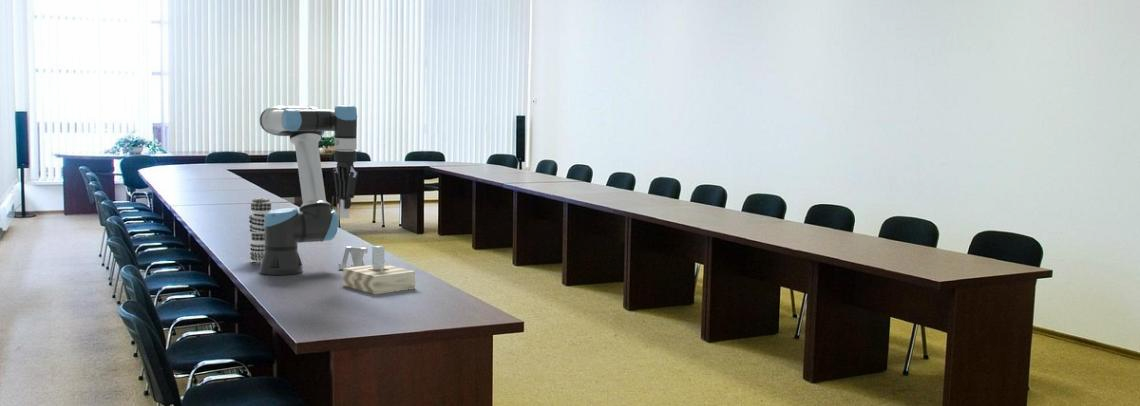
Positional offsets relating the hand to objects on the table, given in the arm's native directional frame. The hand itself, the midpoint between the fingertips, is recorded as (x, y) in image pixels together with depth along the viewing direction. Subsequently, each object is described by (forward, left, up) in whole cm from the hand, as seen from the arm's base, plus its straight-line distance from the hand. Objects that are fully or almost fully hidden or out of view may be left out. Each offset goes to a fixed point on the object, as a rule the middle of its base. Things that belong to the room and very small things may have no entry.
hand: (344, 217), depth 331 cm
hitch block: (+14, +5, -23) cm, 27 cm away
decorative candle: (-59, -2, -23) cm, 64 cm away
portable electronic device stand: (-22, +17, -23) cm, 36 cm away
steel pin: (+14, +5, -23) cm, 27 cm away
